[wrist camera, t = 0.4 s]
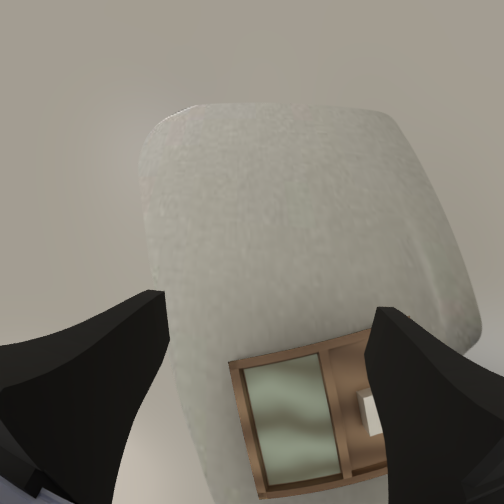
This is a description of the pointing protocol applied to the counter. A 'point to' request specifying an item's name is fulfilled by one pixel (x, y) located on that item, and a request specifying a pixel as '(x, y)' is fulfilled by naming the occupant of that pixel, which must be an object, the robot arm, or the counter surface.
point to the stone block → (368, 412)
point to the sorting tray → (307, 417)
